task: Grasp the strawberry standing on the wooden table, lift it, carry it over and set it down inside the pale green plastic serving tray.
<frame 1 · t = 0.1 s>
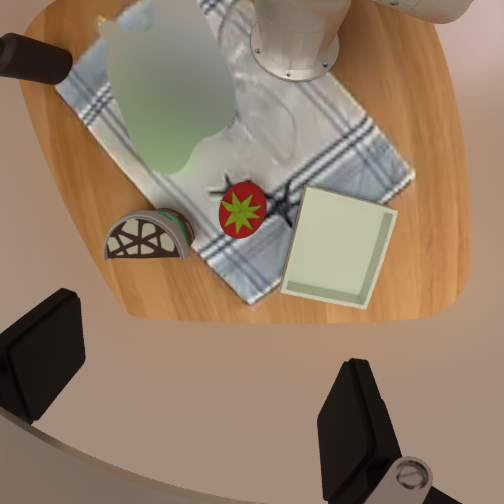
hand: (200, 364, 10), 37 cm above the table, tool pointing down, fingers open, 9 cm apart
bottle: (59, 67, 40), on the table
serving tray: (335, 244, 46), on the table
food container: (164, 220, 47), on the table
strawberry: (246, 203, 45), on the table
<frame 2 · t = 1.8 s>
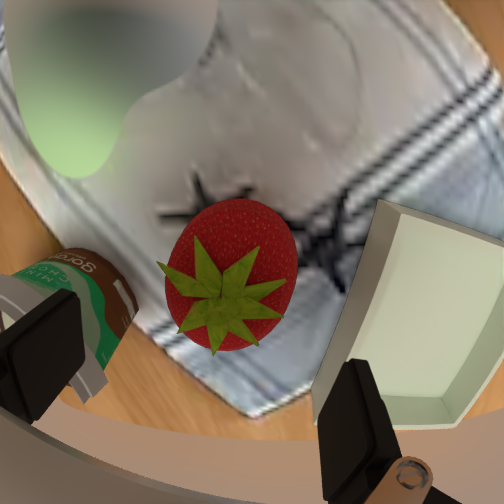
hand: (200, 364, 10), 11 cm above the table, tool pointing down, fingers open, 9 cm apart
serving tray: (423, 322, 20), on the table
food container: (81, 270, 22), on the table
strawberry: (244, 241, 20), on the table
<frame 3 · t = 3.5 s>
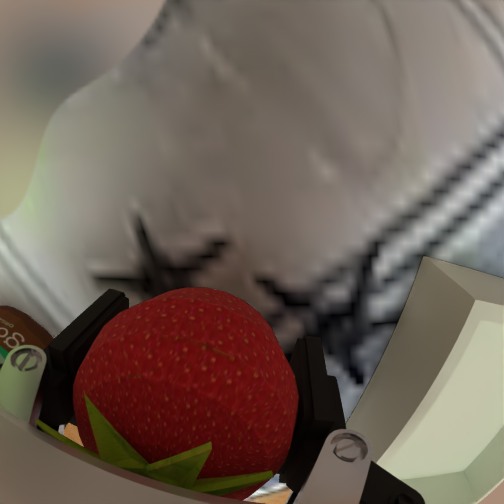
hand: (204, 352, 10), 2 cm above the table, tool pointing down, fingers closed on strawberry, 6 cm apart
serving tray: (457, 404, 13), on the table
food container: (18, 332, 14), on the table
strawberry: (216, 320, 13), on the table, touching gripper
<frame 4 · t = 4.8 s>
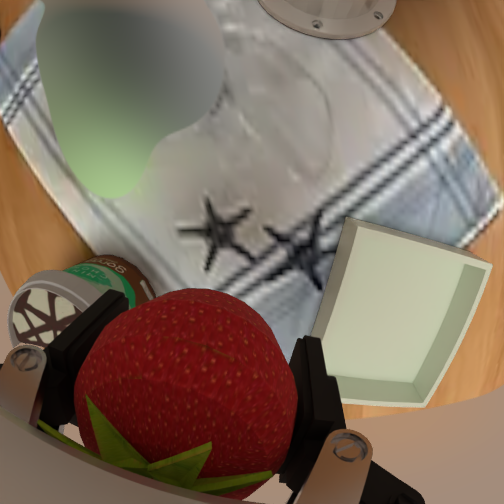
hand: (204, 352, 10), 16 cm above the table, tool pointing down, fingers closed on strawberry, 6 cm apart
serving tray: (388, 314, 26), on the table
food container: (110, 273, 27), on the table
strawberry: (216, 320, 13), point 13 cm above the table, touching gripper
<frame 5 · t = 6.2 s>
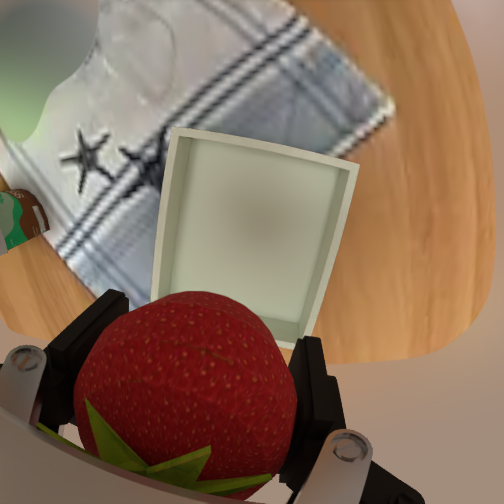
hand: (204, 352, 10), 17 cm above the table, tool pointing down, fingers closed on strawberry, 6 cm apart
serving tray: (248, 233, 26), on the table
food container: (20, 205, 28), on the table
strawberry: (215, 322, 13), point 14 cm above the table, touching gripper
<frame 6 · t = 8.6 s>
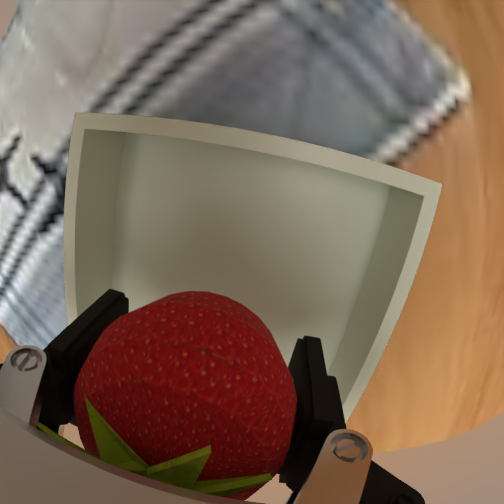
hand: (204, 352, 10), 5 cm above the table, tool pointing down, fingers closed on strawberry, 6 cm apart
serving tray: (227, 297, 15), on the table
strawberry: (216, 322, 13), point 3 cm above the table, touching gripper
when the fingers open (5 cm above the table, at t = 9.0 s): strawberry drops 2 cm, resting on serving tray.
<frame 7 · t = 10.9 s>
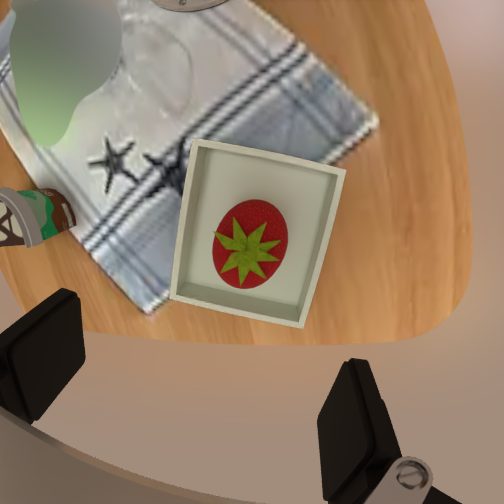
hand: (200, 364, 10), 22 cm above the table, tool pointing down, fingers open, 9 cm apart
serving tray: (254, 228, 31), on the table
food container: (47, 203, 32), on the table
strawberry: (256, 229, 31), resting on serving tray
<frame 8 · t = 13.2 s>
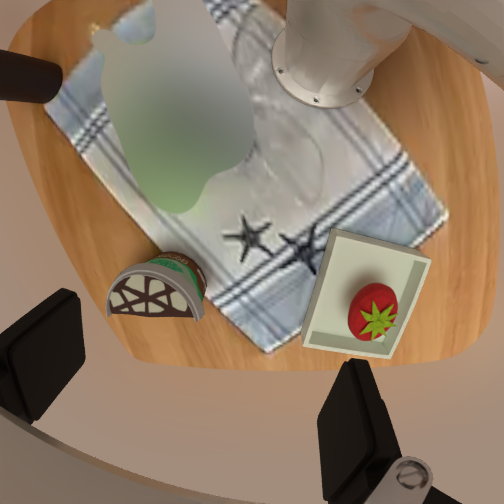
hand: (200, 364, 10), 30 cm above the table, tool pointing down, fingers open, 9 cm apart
bottle: (48, 83, 35), on the table
serving tray: (361, 291, 41), on the table
food container: (172, 264, 42), on the table
strawberry: (363, 293, 40), resting on serving tray
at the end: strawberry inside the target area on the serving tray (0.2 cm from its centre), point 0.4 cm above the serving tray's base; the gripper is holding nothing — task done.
